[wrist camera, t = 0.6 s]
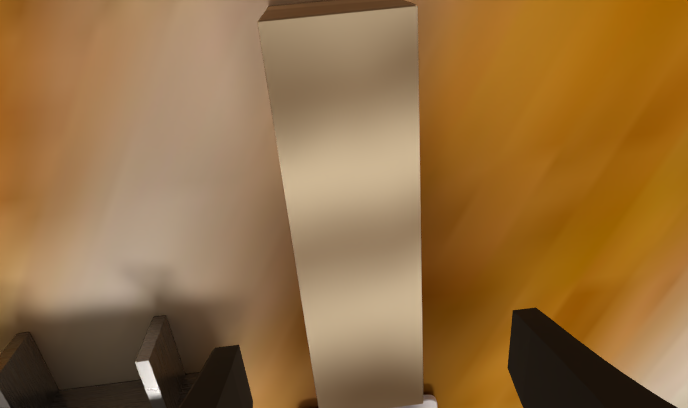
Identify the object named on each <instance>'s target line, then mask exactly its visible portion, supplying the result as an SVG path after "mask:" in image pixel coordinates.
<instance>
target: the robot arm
mask: <svg viewBox="0 0 688 408" xmlns="http://www.w3.org/2000/svg"><path fill="white" fill-rule="evenodd" d="M508 370H509V373H510V375H511V378H512V381H513V383H514V386H515V389H516V391H517V393H518V396H519V398H520V401H521V403H522V406H523V407H524V408H677V407H676V406H674V405H672V404H670V403H669V402H667V401H665V400H664V399H662V398H660V397H659V396H657V395H656V394H654V393H652V392H651V391H649V390H648V389H646V388H645V387H643V386H642V385H640V384H639V383H637V382H636V381H634V380H633V379H631V378H630V377H628V376H627V375H625V374H624V373H622V372H621V371H619V370H618V369H616V368H615V367H614V366H612V365H611V364H609V363H608V362H607V361H605V360H604V359H602V358H601V357H600V356H598V355H597V354H596V353H594V352H593V351H592V350H590V349H589V348H588V347H586V346H585V345H584V344H582V343H581V342H580V341H578V340H577V339H576V338H574V337H573V336H572V335H571V334H569V333H568V332H567V331H565V330H564V329H563V328H562V327H560V326H559V325H558V324H556V323H555V322H554V321H553V320H551V319H550V318H549V317H547V316H546V315H545V314H544V313H542V312H541V311H540V310H538V309H537V308H529V309H521V310H513V316H512V327H511V337H510V348H509V359H508ZM179 408H253V400H252V396H251V391H250V387H249V383H248V379H247V375H246V371H245V367H244V363H243V359H242V355H241V351H240V347H239V345H234V346H227V347H219V348H215V349H214V350H213V351H212V353H211V354H210V356H209V358H208V360H207V361H206V363H205V365H204V367H203V369H202V370H201V372H200V374H199V375H198V377H197V379H196V381H195V382H194V384H193V386H192V387H191V389H190V390H189V392H188V394H187V395H186V397H185V398H184V400H183V402H182V403H181V405H180V406H179ZM394 408H437V401H436V398H435V397H434V396H433V395H423V404H417V405H409V406H402V407H394Z"/></svg>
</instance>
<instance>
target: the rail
mask: <svg viewBox="0 0 688 408" xmlns="http://www.w3.org/2000/svg"><path fill="white" fill-rule="evenodd" d="M257 23H258V29H259V36H260V42H261V48H262V55H263V61H264V67H265V74H266V80H267V86H268V92H269V99H270V105H271V111H272V118H273V124H274V130H275V137H276V143H277V149H278V155H279V162H280V168H281V174H282V181H283V187H284V193H285V200H286V206H287V212H288V219H289V225H290V231H291V237H292V244H293V250H294V256H295V263H296V269H297V275H298V282H299V288H300V294H301V300H302V307H303V313H304V319H305V326H306V332H307V338H308V345H309V351H310V357H311V363H312V370H313V376H314V382H315V389H316V395H317V401H318V408H394V407H402V406H409V405H417V404H423V340H422V271H421V203H420V135H419V66H418V6H416V5H415V4H413V3H410V2H407V1H404V0H327V1H317V2H307V3H296V4H286V5H276V6H269V7H268V8H267V10H266V11H265V12H264V14H263V15H262V17H261V18H260V19H259V21H258V22H257Z"/></svg>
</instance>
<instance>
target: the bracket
mask: <svg viewBox="0 0 688 408" xmlns="http://www.w3.org/2000/svg"><path fill="white" fill-rule="evenodd" d="M135 364H136V367H137V369H138V372H139V375H140V377H141V380H138V381H130V382H122V383H114V384H106V385H98V386H91V387H83V388H75V389H67V390H58V388H57V386H56V384H55V382H54V380H53V378H52V376H51V374H50V372H49V370H48V368H47V366H46V364H45V362H44V360H43V358H42V356H41V354H40V352H39V350H38V348H37V346H36V344H35V342H34V340H33V338H32V336H31V334H30V332H27V333H19V334H16V336H15V337H14V338H13V339H12V341H11V342H10V343H9V345H8V346H7V347H6V349H5V350H4V351H3V353H2V354H1V355H0V408H179V406H180V405H181V403H182V402H183V400H184V398H185V397H186V395H187V394H188V392H189V390H190V389H191V387H192V386H193V384H194V382H195V381H196V379H197V377H198V375H199V374H200V373H193V374H185V372H184V369H183V366H182V363H181V360H180V357H179V354H178V351H177V348H176V345H175V342H174V339H173V336H172V333H171V330H170V327H169V324H168V320H167V317H166V315H165V316H157V317H153V320H152V322H151V324H150V327H149V329H148V332H147V334H146V336H145V339H144V341H143V344H142V346H141V349H140V351H139V353H138V356H137V358H136V361H135Z"/></svg>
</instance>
